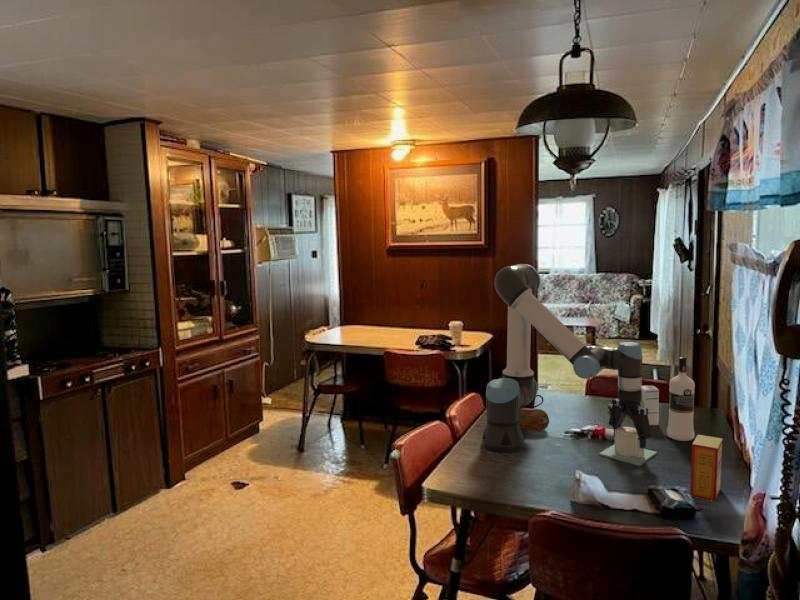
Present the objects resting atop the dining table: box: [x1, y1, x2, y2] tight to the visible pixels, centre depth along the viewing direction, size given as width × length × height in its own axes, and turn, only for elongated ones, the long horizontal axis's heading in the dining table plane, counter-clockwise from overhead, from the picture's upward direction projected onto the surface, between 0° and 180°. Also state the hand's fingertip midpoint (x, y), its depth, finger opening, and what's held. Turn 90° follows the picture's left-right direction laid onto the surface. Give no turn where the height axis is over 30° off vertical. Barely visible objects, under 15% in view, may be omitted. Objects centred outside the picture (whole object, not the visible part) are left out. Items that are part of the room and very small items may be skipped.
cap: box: [616, 426, 639, 456], centre depth 199 cm, size 7×7×8 cm
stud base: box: [598, 443, 658, 467], centre depth 199 cm, size 14×14×6 cm
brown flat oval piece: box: [519, 408, 550, 432], centre depth 226 cm, size 15×3×8 cm, turn 76°
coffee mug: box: [523, 394, 544, 409], centre depth 245 cm, size 12×9×10 cm
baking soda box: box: [689, 434, 724, 502], centre depth 169 cm, size 10×6×16 cm
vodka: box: [666, 356, 696, 442], centre depth 212 cm, size 9×9×30 cm
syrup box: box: [640, 385, 660, 426], centre depth 229 cm, size 6×6×14 cm
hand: (629, 451), depth 200 cm, fingers closed on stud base, 9 cm apart
